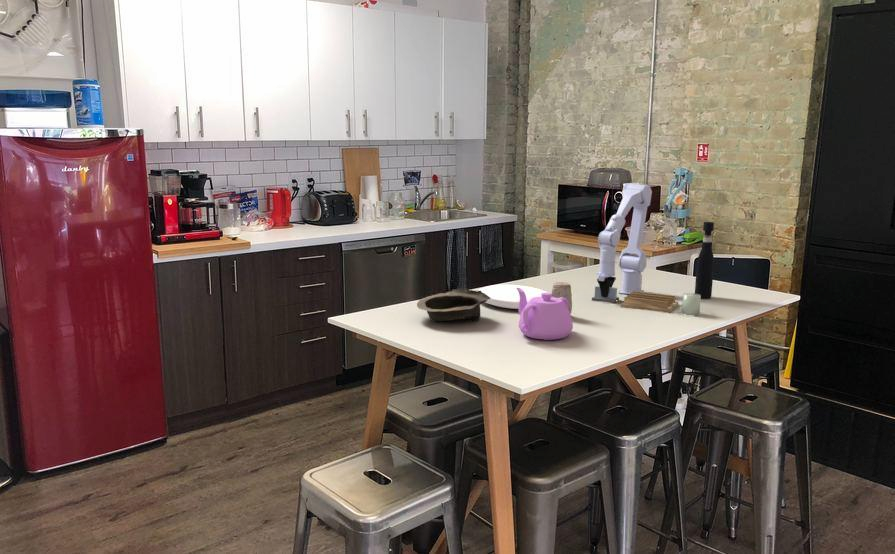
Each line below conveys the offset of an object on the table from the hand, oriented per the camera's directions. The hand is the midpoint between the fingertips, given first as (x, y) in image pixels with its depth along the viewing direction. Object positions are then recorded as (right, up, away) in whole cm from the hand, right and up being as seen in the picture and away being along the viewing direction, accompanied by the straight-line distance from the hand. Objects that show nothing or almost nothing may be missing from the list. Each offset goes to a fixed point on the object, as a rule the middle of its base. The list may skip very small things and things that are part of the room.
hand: (605, 296), depth 281 cm
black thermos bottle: (+40, -1, +7) cm, 41 cm away
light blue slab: (0, -1, 0) cm, 2 cm away
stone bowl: (-60, -8, -31) cm, 68 cm away
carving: (-21, -7, -25) cm, 34 cm away
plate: (-36, -3, -7) cm, 37 cm away
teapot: (-32, -11, -48) cm, 58 cm away
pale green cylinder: (+26, -6, -20) cm, 33 cm away
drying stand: (0, -2, 0) cm, 2 cm away
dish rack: (+15, -3, -8) cm, 17 cm away
